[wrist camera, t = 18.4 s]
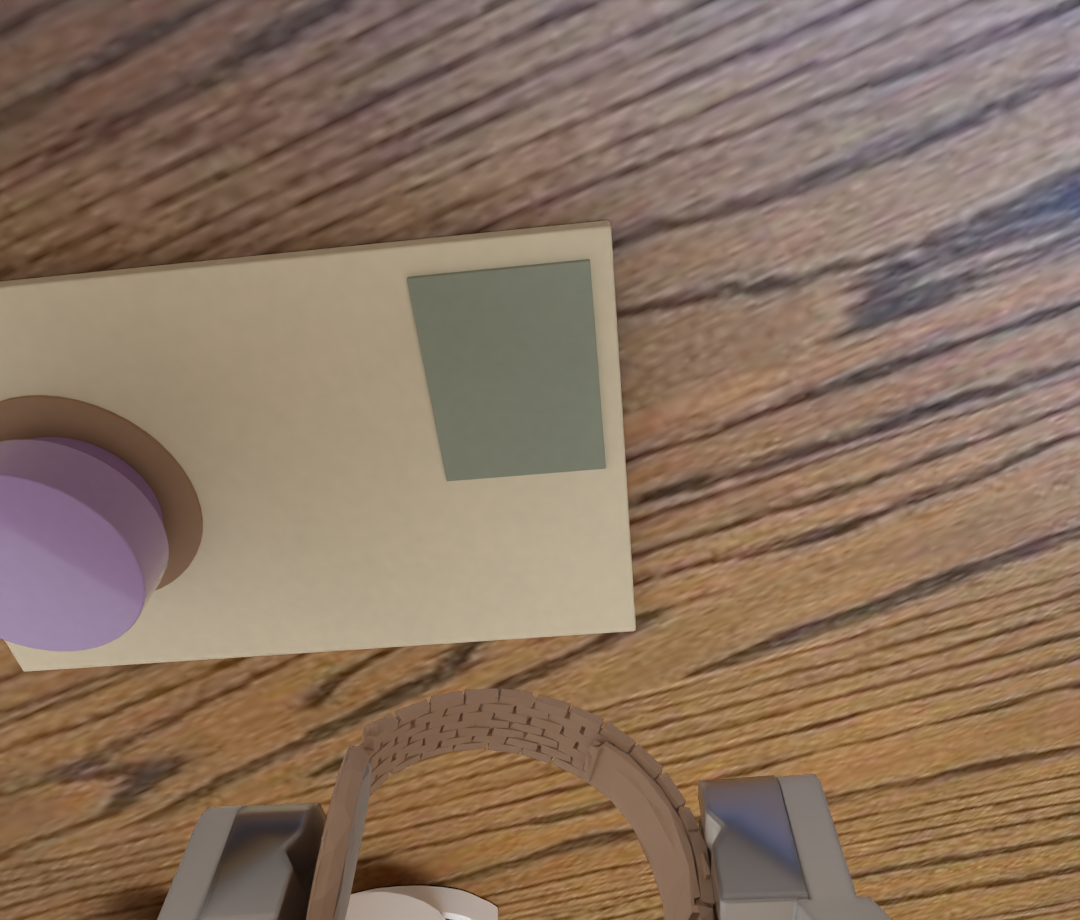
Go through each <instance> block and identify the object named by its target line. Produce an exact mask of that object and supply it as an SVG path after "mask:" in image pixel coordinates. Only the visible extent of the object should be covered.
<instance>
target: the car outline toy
mask: <svg viewBox="0 0 1080 920" xmlns="http://www.w3.org/2000/svg"><path fill="white" fill-rule="evenodd" d="M445 918H447V919H452V920H498V908H497V907H496V906H495V905H493V904H492V903H490V902H488V901H486V900H484V899H481V898H479V897H477V896H475V895H473V894H471V893H468V892H465V891H462V890H457V889H452V888H445V887H434V886H396V887H385V888H377V889H371V890H366V891H362V892H358V893H354V894H351V895H350V900H349V905H348V909H347V913H346V917H345V920H446V919H445Z"/></svg>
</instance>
